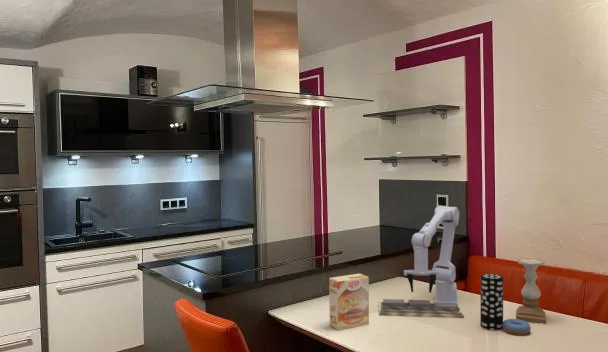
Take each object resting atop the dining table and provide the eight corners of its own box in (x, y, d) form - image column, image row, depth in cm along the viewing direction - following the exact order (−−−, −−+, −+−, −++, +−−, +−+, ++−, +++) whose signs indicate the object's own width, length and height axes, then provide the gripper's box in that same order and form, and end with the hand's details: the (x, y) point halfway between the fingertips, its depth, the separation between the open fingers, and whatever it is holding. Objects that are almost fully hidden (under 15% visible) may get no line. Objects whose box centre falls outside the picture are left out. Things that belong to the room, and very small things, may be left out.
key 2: (455, 306, 210) (455, 303, 210) (457, 310, 205) (457, 307, 205) (433, 306, 211) (433, 302, 211) (435, 309, 206) (435, 306, 206)
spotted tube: (502, 324, 192) (502, 274, 191) (503, 331, 184) (503, 279, 183) (480, 322, 194) (480, 273, 194) (480, 329, 187) (480, 278, 186)
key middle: (429, 303, 211) (429, 300, 211) (430, 307, 206) (430, 303, 206) (408, 303, 213) (408, 299, 212) (409, 306, 208) (409, 303, 208)
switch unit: (457, 306, 214) (457, 301, 214) (464, 318, 200) (464, 311, 200) (378, 304, 219) (378, 299, 219) (379, 315, 205) (379, 309, 205)
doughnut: (529, 337, 177) (528, 324, 177) (500, 334, 182) (499, 321, 182) (532, 331, 185) (531, 319, 186) (504, 328, 191) (504, 316, 191)
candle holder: (545, 315, 201) (545, 259, 200) (546, 324, 191) (546, 264, 190) (516, 312, 206) (516, 257, 205) (515, 320, 196) (516, 262, 195)
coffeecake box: (338, 330, 187) (337, 281, 187) (329, 325, 194) (328, 277, 193) (369, 324, 194) (369, 276, 193) (359, 319, 201) (359, 272, 200)
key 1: (403, 302, 213) (403, 299, 213) (404, 306, 208) (404, 303, 208) (383, 302, 214) (383, 299, 214) (383, 305, 209) (383, 302, 209)
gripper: (404, 262, 205) (404, 293, 206) (439, 263, 204) (439, 294, 204) (403, 259, 212) (403, 289, 213) (437, 259, 211) (437, 290, 211)
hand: (421, 291), depth 209 cm, fingers open, 7 cm apart
